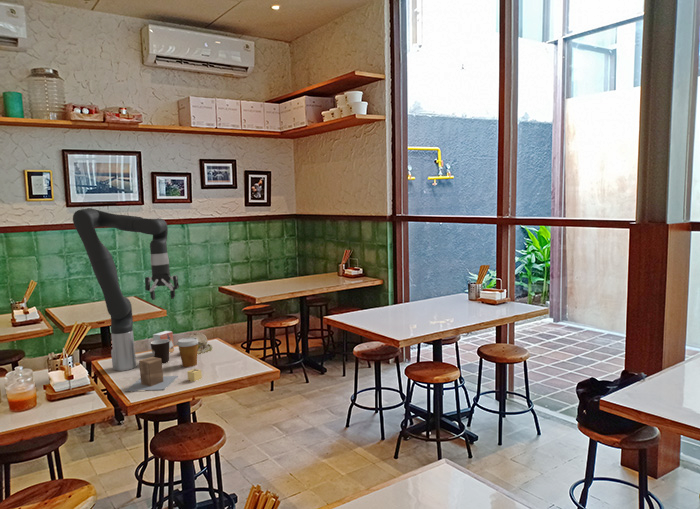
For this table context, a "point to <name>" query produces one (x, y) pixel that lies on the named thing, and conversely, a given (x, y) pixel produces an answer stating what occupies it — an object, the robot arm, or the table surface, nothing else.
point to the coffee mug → (161, 349)
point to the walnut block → (151, 371)
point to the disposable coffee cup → (188, 351)
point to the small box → (165, 335)
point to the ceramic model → (202, 343)
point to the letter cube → (194, 374)
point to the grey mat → (160, 386)
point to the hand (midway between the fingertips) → (163, 299)
